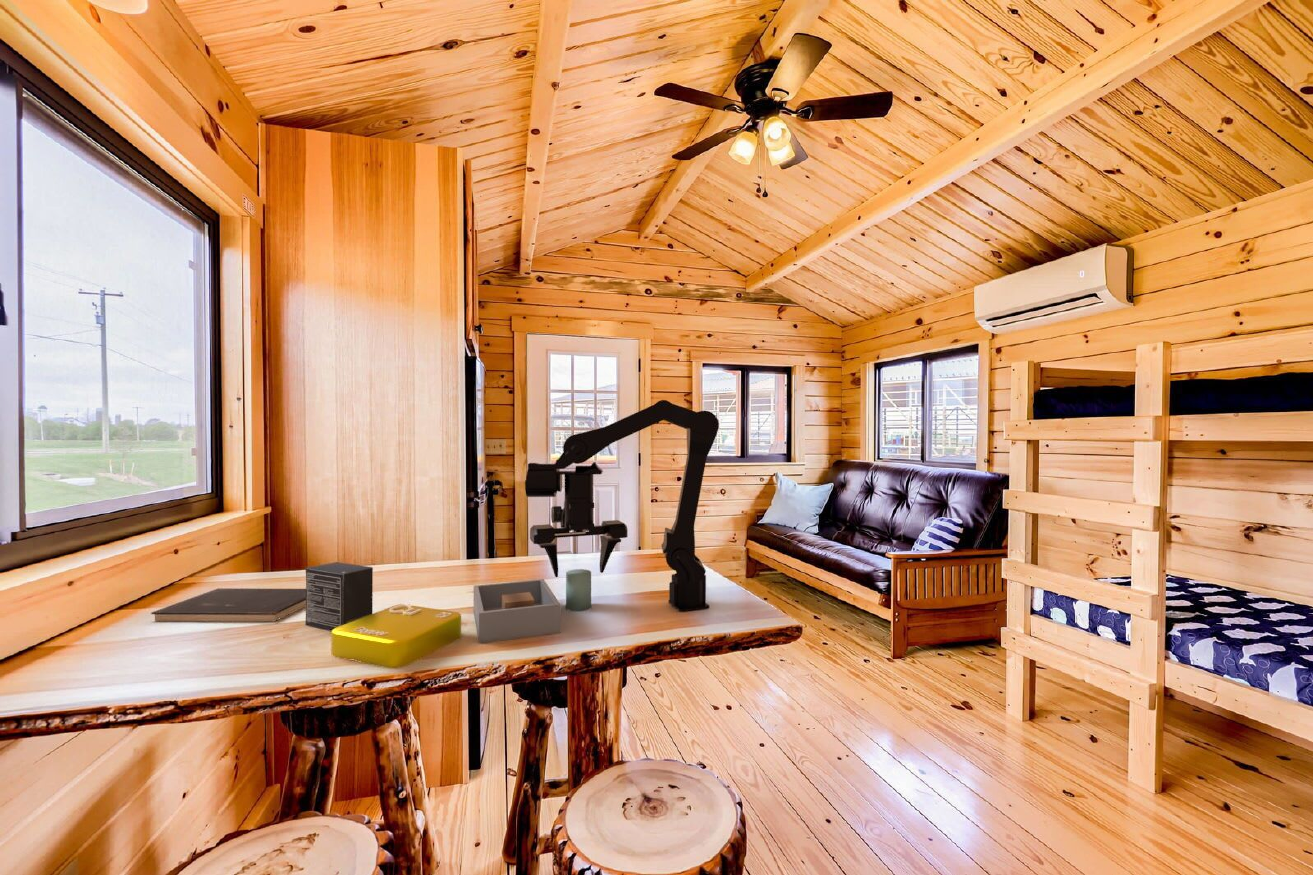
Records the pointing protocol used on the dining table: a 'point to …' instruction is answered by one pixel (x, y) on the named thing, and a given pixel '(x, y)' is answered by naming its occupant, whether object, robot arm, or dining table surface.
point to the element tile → (396, 635)
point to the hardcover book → (236, 605)
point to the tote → (515, 611)
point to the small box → (337, 594)
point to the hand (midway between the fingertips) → (579, 574)
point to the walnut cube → (517, 600)
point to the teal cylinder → (578, 590)
